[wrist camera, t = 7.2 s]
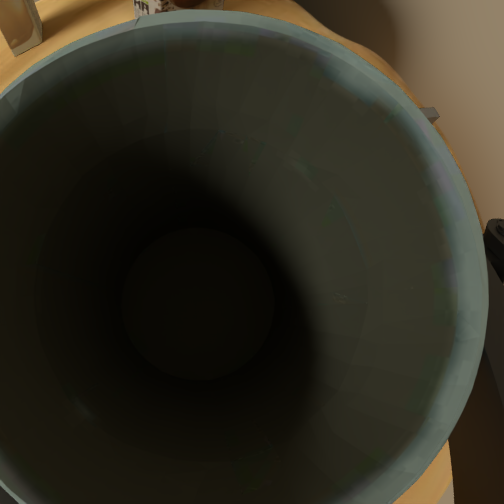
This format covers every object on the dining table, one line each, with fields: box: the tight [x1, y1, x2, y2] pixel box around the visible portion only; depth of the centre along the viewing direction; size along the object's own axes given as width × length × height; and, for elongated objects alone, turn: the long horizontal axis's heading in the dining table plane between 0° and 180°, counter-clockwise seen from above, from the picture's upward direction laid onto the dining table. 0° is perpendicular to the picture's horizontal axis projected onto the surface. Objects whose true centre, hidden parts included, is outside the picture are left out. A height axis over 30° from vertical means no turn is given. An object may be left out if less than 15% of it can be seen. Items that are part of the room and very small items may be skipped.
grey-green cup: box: [0, 9, 489, 504], centre depth 9 cm, size 10×10×12 cm
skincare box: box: [0, 0, 42, 57], centre depth 20 cm, size 6×4×12 cm
